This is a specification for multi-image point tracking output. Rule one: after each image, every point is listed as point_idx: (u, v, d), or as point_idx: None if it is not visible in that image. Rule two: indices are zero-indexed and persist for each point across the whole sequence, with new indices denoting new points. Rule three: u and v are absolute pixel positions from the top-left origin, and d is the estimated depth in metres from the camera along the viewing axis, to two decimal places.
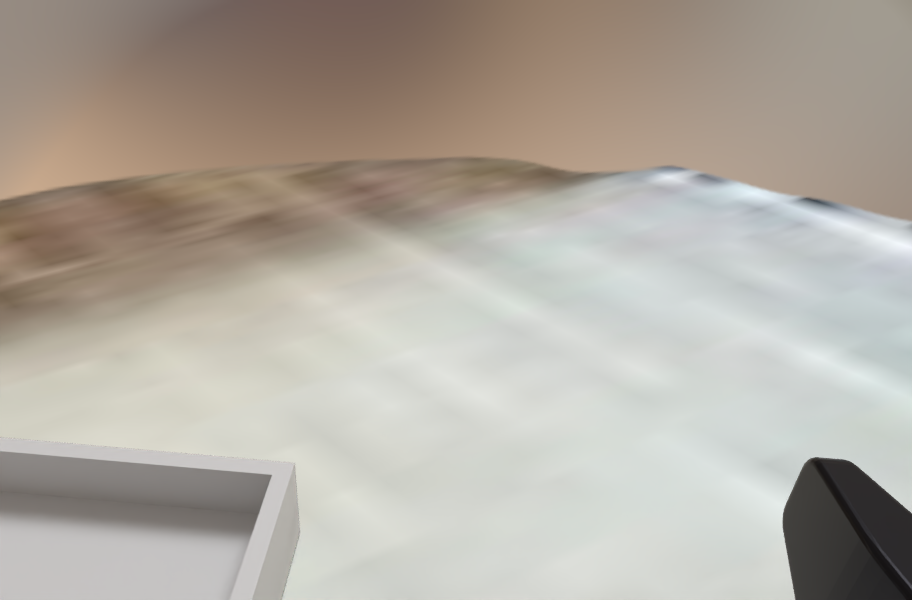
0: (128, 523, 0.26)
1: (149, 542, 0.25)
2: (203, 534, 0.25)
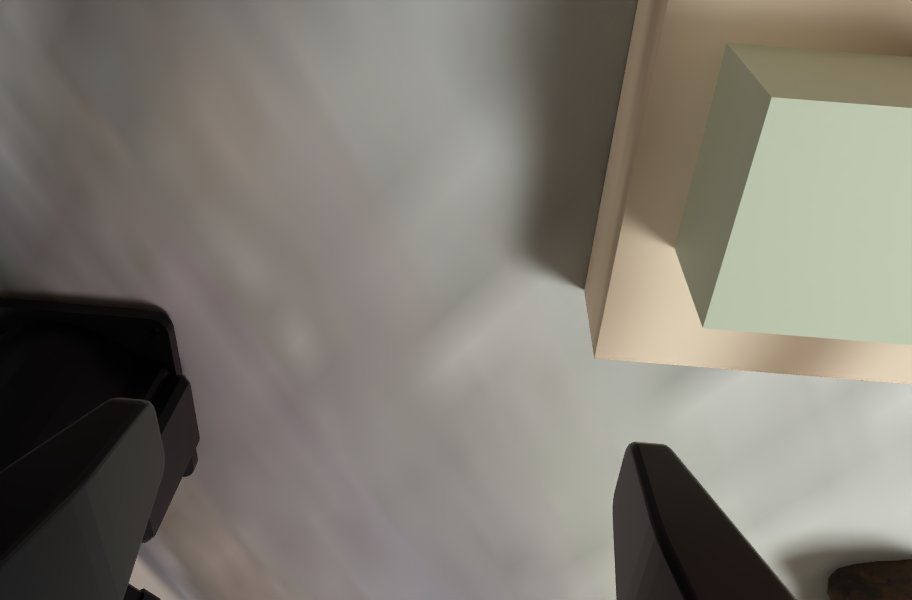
0: None
1: None
2: None
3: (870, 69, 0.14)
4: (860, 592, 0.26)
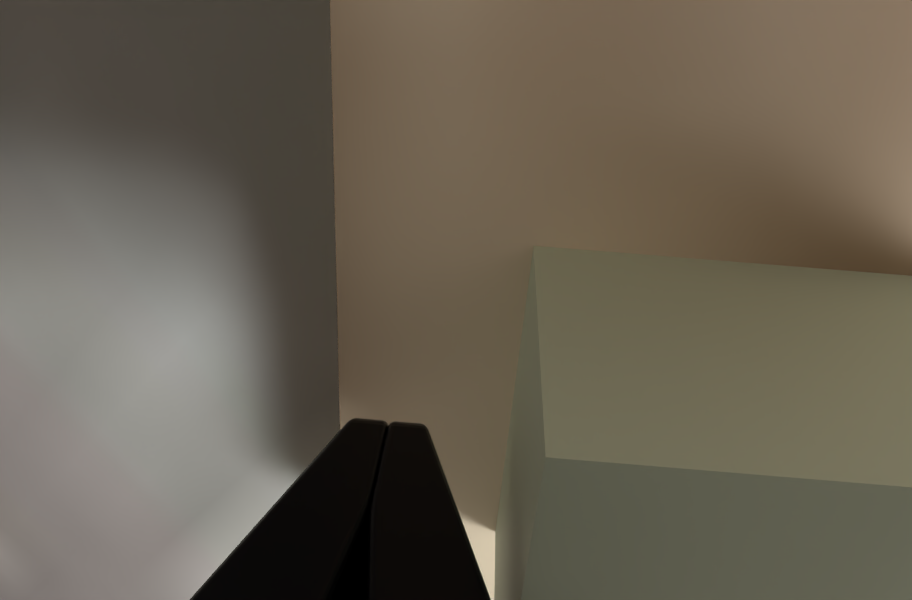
0: None
1: None
2: None
3: (787, 321, 0.07)
4: None
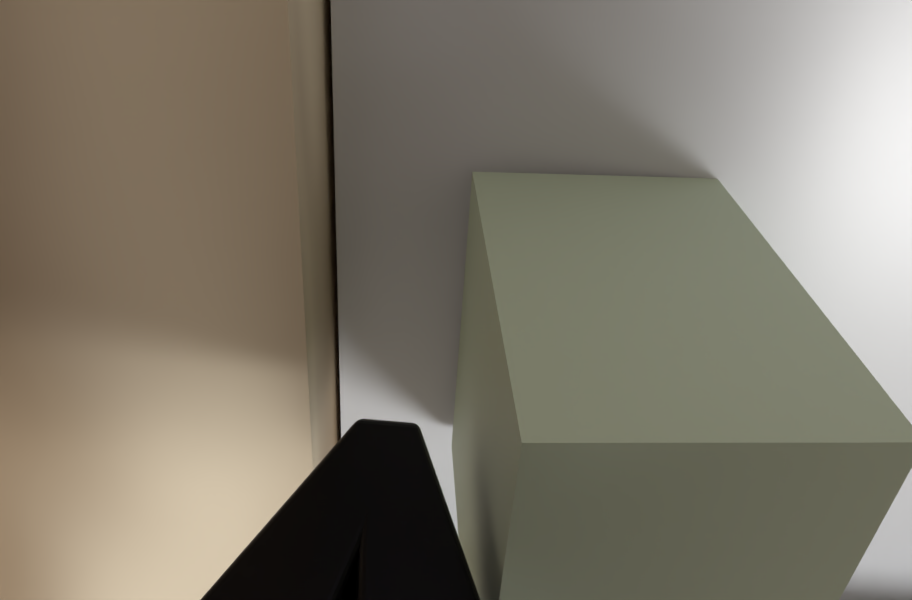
0: None
1: None
2: None
3: (593, 271, 0.07)
4: None
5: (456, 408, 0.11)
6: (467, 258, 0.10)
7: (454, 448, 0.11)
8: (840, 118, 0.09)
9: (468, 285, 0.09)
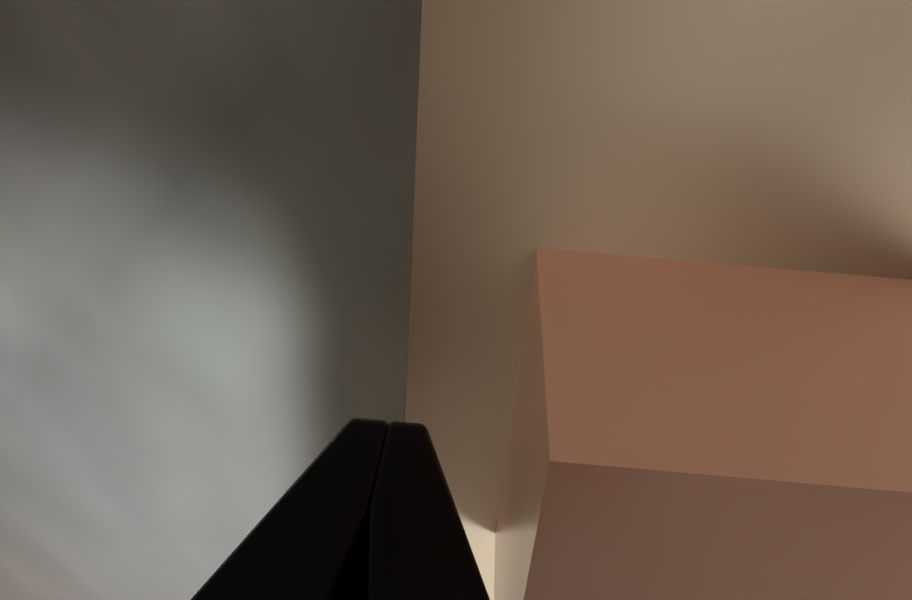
0: None
1: None
2: None
3: None
4: None
5: None
6: None
7: None
8: None
9: None
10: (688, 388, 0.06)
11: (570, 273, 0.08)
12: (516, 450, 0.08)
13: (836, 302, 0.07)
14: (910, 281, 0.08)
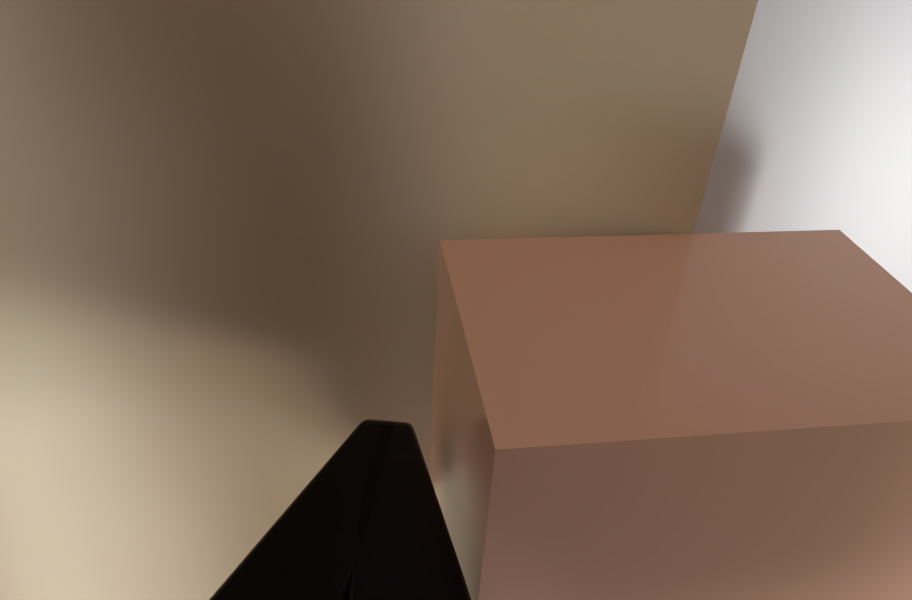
0: None
1: None
2: None
3: None
4: None
5: None
6: None
7: None
8: None
9: None
10: (611, 359, 0.06)
11: (477, 262, 0.08)
12: (444, 444, 0.08)
13: (726, 258, 0.08)
14: (785, 233, 0.09)
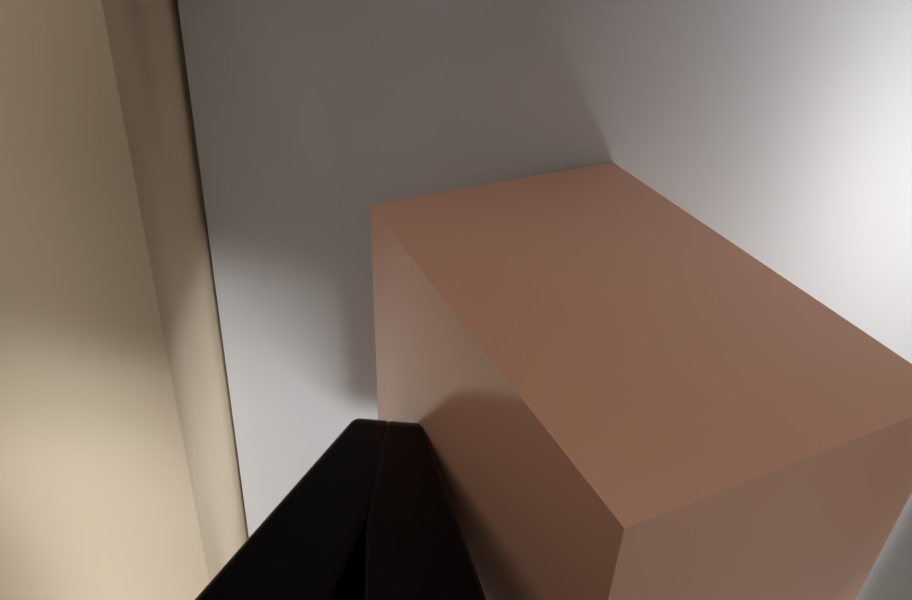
0: None
1: None
2: None
3: None
4: None
5: None
6: None
7: None
8: None
9: None
10: (751, 338, 0.06)
11: (653, 471, 0.05)
12: None
13: (485, 271, 0.07)
14: (393, 236, 0.07)
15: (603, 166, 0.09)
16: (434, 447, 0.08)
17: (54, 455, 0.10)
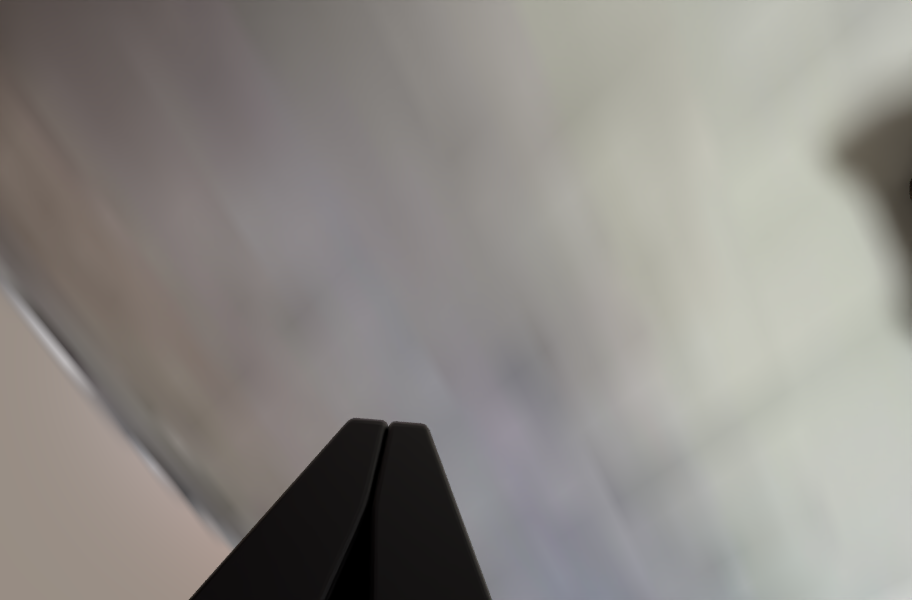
0: None
1: None
2: None
3: None
4: None
5: None
6: None
7: None
8: None
9: None
10: None
11: None
12: None
13: None
14: None
15: None
16: None
17: None
